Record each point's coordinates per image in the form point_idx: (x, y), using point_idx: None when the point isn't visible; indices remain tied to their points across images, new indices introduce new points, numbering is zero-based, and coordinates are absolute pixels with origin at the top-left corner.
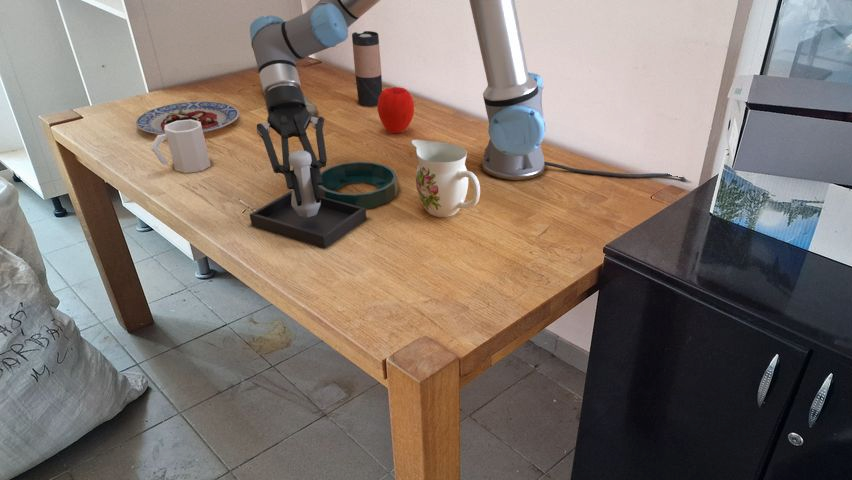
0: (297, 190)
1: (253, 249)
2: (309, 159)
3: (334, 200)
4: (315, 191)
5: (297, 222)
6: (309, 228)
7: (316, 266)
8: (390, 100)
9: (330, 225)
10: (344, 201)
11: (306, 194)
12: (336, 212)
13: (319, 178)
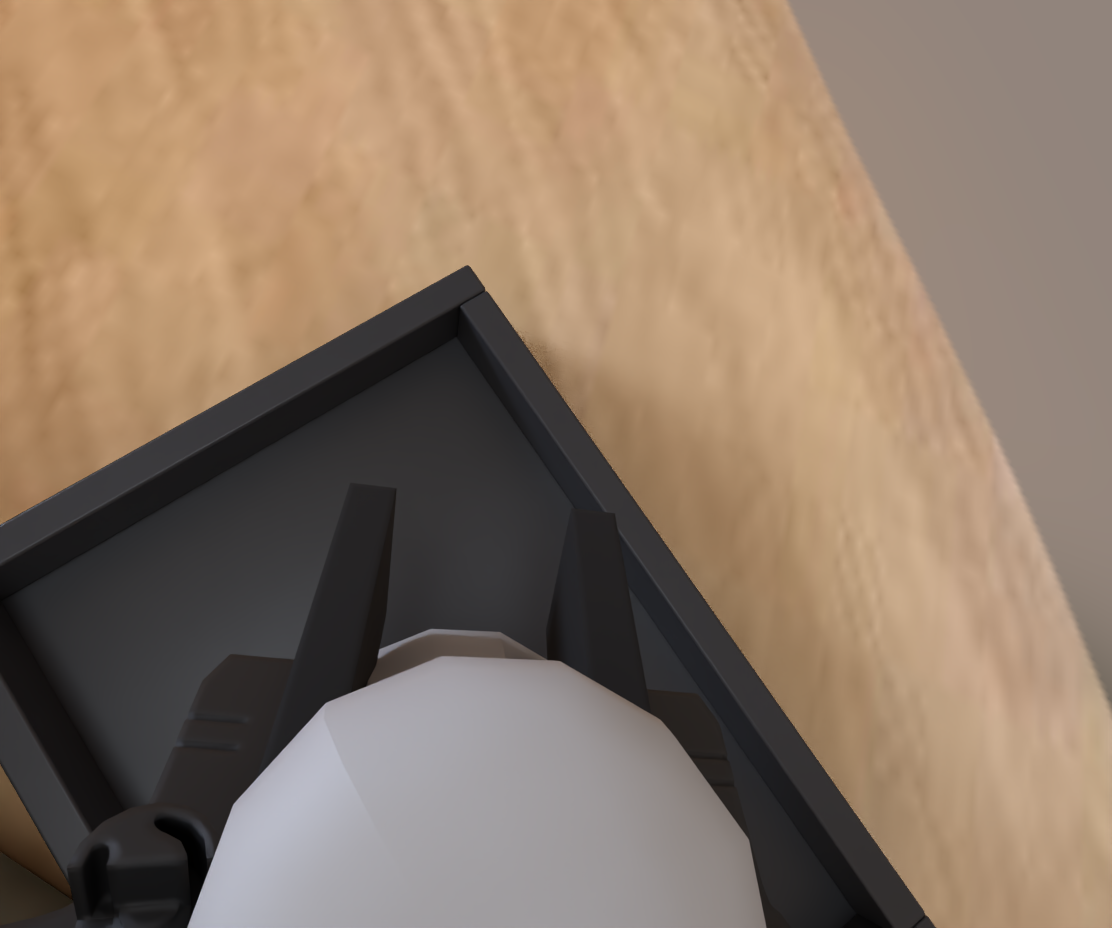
0: (602, 598)
1: (908, 526)
2: (295, 743)
3: None
4: (382, 539)
5: None
6: (488, 604)
7: (582, 137)
8: None
9: (313, 576)
10: (5, 902)
11: (475, 651)
12: None
13: (229, 703)
